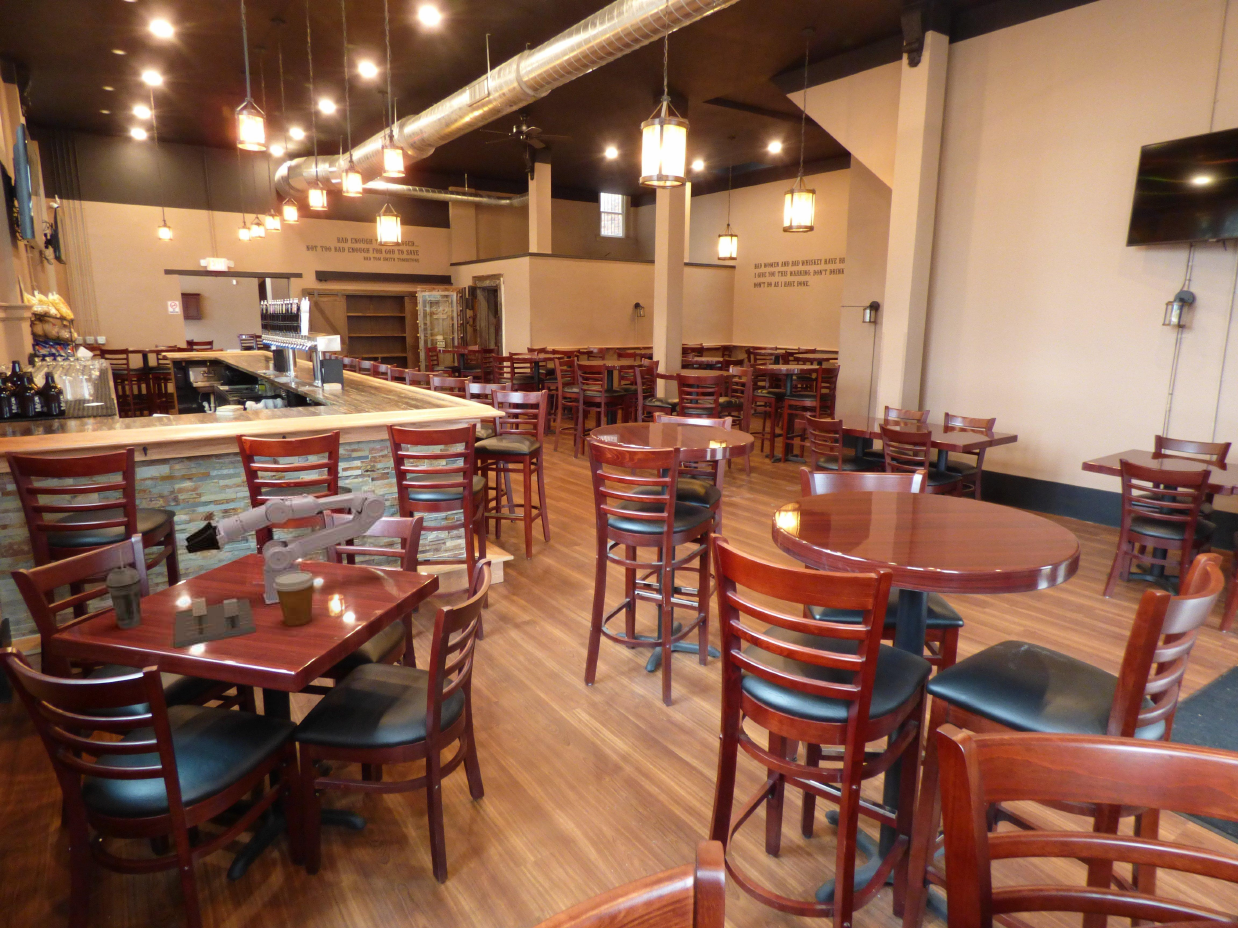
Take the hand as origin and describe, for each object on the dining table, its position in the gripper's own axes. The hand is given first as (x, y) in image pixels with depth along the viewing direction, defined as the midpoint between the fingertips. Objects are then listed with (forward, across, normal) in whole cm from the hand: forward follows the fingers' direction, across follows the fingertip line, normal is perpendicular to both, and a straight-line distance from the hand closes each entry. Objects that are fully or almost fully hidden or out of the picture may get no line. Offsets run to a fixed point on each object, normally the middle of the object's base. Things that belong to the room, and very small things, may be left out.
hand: (187, 545), depth 183 cm
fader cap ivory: (+4, +6, +17) cm, 18 cm away
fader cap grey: (-3, +11, +19) cm, 22 cm away
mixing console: (+1, +11, +19) cm, 22 cm away
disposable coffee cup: (-16, +20, +25) cm, 36 cm away
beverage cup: (+19, 0, +14) cm, 24 cm away
